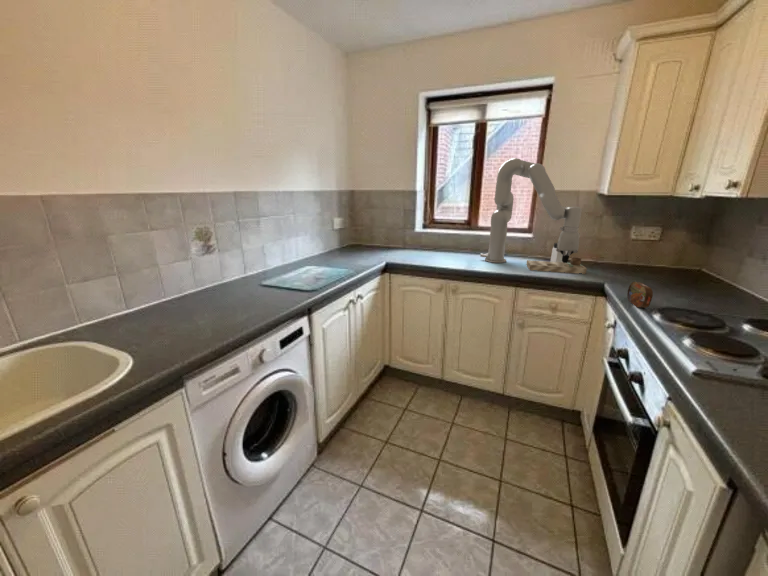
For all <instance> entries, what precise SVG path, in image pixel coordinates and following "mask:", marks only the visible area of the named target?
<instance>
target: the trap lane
mask: <svg viewBox="0 0 768 576" xmlns="http://www.w3.org/2000/svg"><path fill="white" fill-rule="evenodd" d="M525 263H526V264H525V265H527V266H526V267H527V268H528V270H529V271H533V270H537V271H538V272H549V271H551V273H564V272H565V273H567V274H568V273H569V274H579V273H582V275H585V274H586V273H587V270H588V269H587V267H586V266H584V265H583V264H581V263H580V265H572V264H570V262H567V263H563V262H550V261H545V260H544V261H543V260H526V262H525ZM537 271H536V272H537ZM586 275H587V274H586Z"/></svg>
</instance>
